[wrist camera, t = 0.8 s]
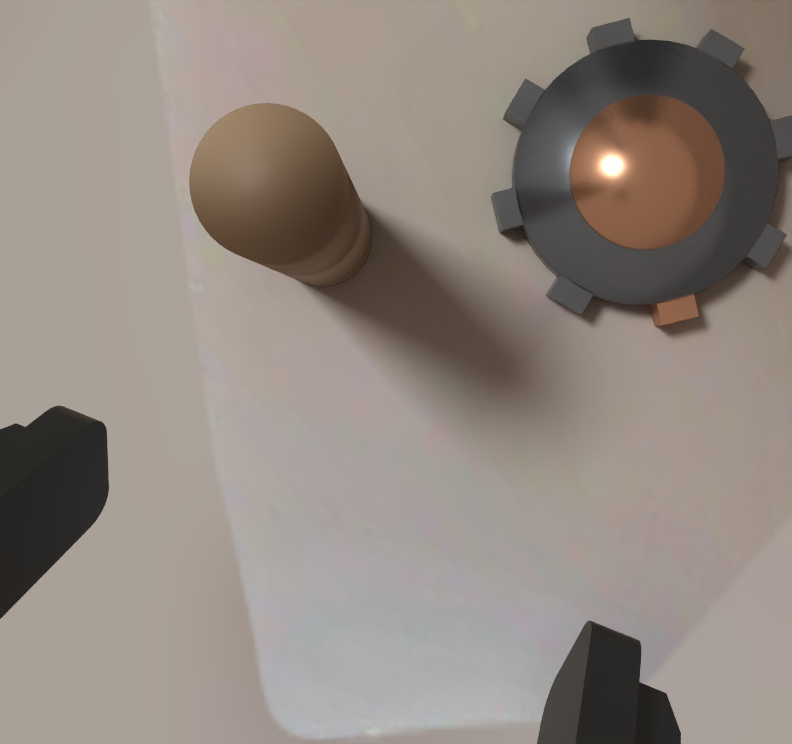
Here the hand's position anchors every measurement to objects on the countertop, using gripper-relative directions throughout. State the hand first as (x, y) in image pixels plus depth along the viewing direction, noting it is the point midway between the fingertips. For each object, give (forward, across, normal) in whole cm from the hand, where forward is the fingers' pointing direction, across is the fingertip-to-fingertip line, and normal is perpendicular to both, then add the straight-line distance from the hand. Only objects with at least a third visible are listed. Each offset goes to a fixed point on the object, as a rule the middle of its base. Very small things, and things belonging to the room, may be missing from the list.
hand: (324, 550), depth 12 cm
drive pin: (+21, +8, +6) cm, 23 cm away
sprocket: (+26, -4, +1) cm, 26 cm away
